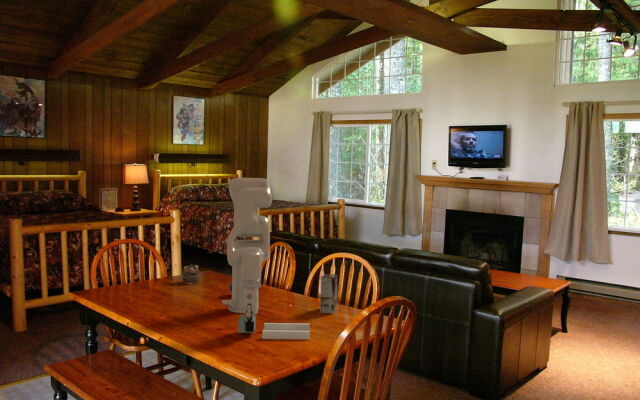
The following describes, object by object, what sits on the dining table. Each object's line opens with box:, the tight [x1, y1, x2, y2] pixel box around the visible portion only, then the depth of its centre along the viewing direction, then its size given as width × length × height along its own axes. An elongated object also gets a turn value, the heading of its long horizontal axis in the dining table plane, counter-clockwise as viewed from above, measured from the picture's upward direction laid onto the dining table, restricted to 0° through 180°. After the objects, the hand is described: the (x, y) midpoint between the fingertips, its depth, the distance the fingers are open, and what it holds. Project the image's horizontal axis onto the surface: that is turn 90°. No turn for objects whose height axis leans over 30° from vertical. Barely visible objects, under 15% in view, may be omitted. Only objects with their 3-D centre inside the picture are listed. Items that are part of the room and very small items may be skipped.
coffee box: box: [319, 273, 339, 315], centre depth 245 cm, size 9×6×16 cm
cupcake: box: [181, 263, 200, 283], centre depth 295 cm, size 10×10×10 cm
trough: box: [261, 322, 311, 341], centre depth 210 cm, size 18×10×3 cm, turn 92°
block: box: [237, 314, 256, 334], centre depth 210 cm, size 6×6×5 cm
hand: (250, 328), depth 210 cm, fingers closed on block, 6 cm apart
